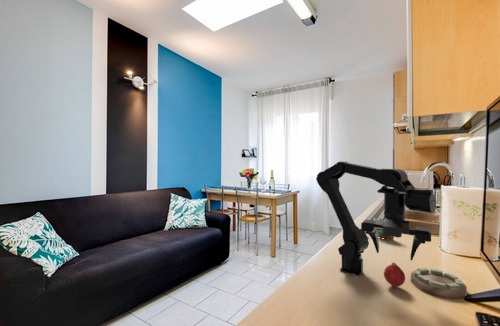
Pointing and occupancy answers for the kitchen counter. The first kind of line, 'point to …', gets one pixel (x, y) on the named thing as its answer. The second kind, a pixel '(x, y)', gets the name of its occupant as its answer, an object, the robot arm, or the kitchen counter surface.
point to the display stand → (438, 283)
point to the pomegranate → (394, 275)
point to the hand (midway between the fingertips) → (394, 256)
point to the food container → (380, 232)
